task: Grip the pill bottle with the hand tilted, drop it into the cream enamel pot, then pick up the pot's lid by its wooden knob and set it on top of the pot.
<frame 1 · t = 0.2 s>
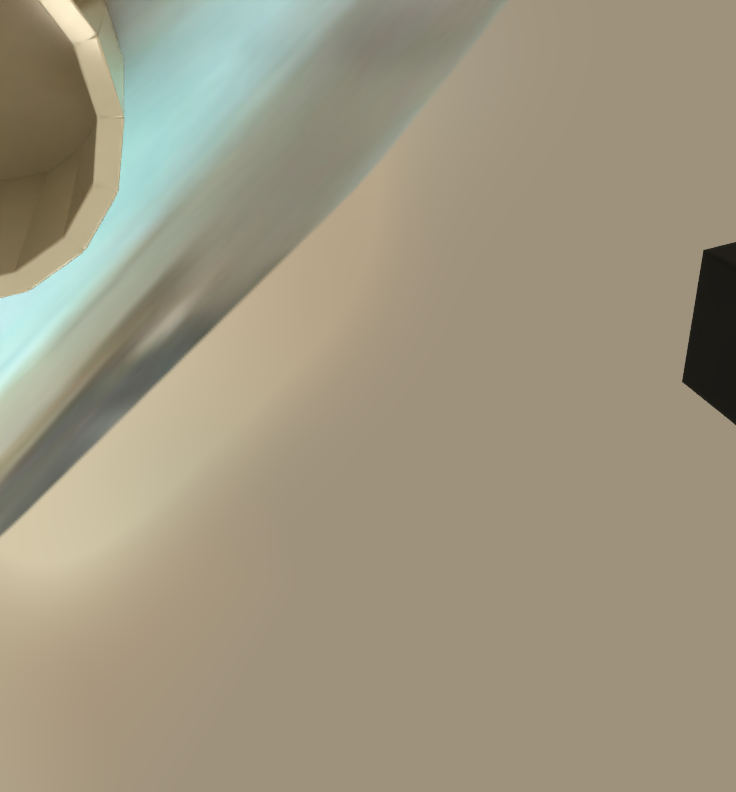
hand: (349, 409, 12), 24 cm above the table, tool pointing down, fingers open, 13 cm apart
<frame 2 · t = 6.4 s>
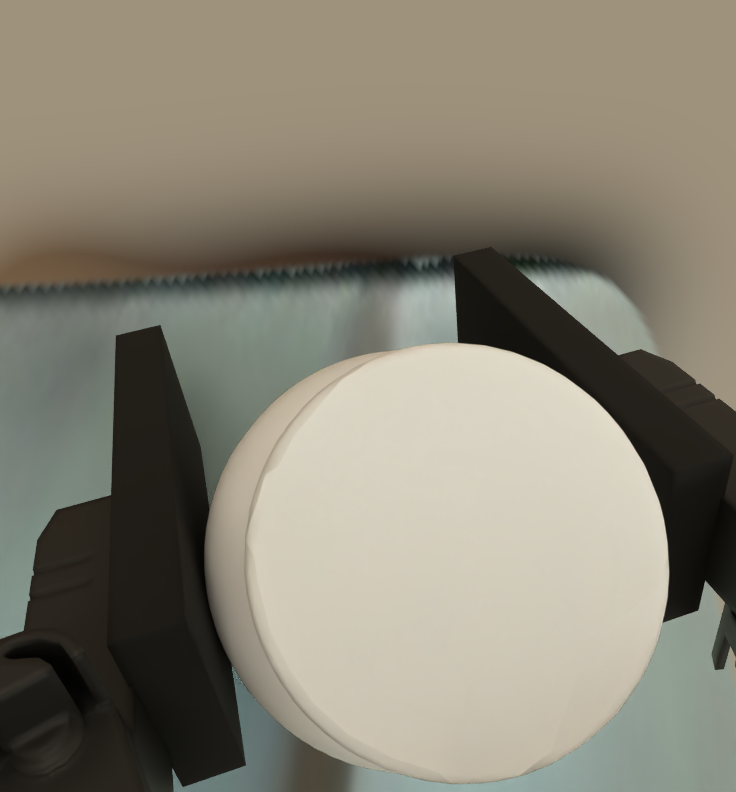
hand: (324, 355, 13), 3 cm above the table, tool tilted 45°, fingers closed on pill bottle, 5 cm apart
pill bottle: (360, 546, 16), on the table, touching gripper
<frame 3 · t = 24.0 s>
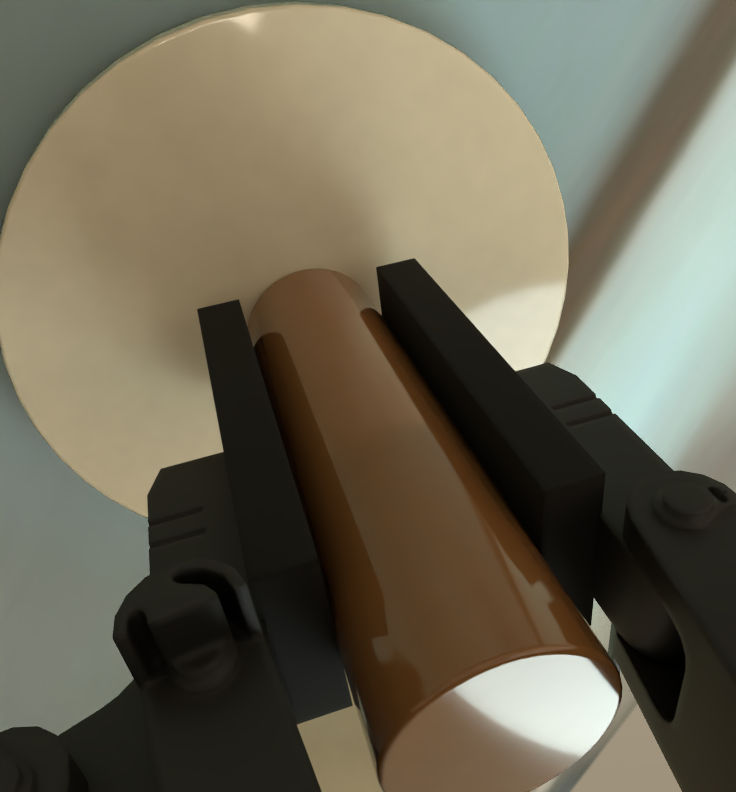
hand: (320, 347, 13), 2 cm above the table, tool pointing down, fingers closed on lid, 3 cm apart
pot: (291, 741, 24), on the table
lid: (305, 315, 15), point 1 cm above the table, touching gripper
when the fingers open (13 cm above the table, at t = 30.4 s): lid stays where it is, resting on pot.
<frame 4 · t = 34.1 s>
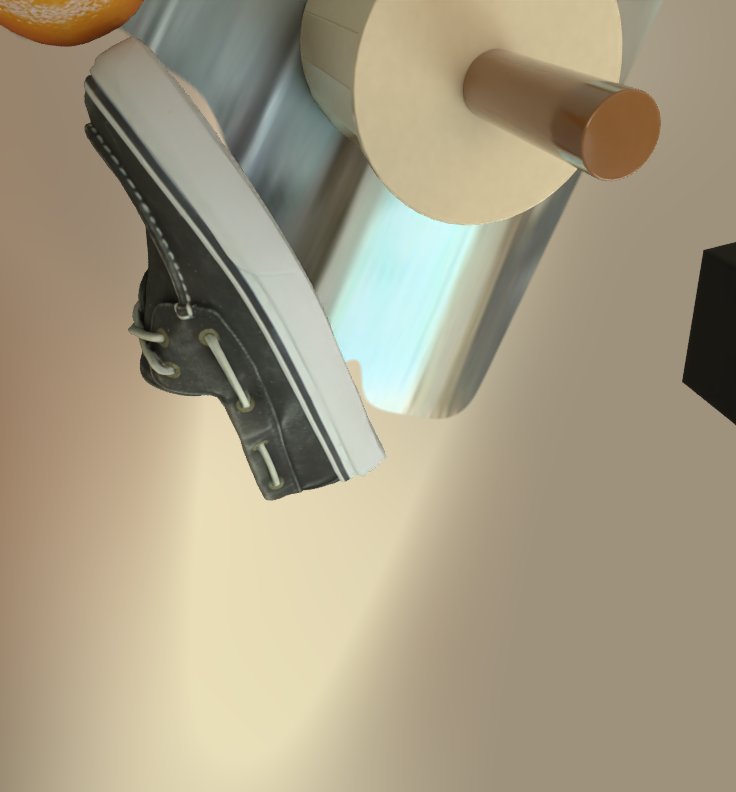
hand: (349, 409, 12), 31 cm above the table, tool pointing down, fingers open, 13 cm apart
pot: (395, 44, 38), on the table
boat shoe: (309, 286, 39), point 5 cm above the table
lid: (486, 82, 28), point 12 cm above the table, touching pot
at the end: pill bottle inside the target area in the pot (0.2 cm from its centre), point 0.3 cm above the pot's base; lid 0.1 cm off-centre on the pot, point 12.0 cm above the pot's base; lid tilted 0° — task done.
